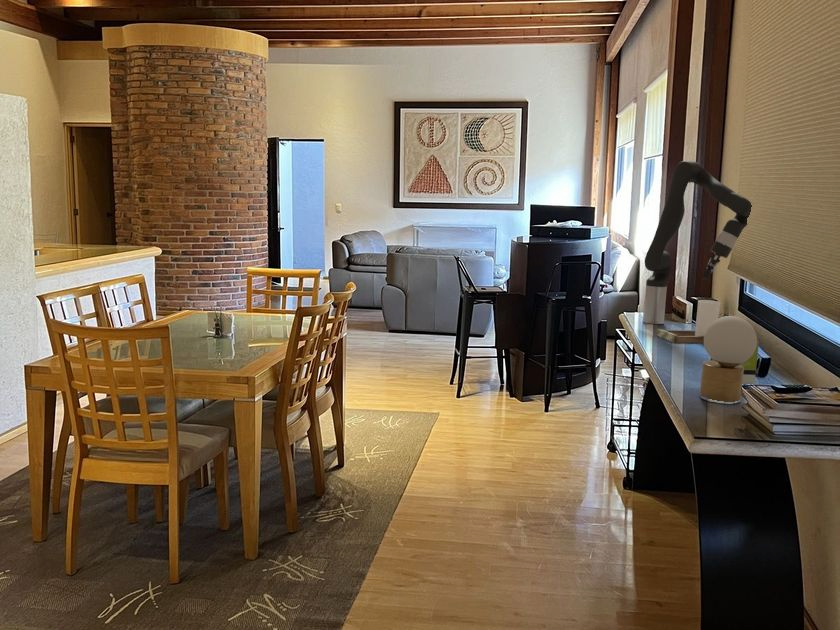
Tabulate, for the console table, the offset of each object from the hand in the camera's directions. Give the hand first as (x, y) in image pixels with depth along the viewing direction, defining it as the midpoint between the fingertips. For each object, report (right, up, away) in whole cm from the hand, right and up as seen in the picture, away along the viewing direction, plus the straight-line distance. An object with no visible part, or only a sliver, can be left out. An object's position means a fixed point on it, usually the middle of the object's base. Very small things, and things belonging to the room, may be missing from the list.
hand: (704, 278), depth 333 cm
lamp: (-32, -40, -104) cm, 116 cm away
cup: (-1, -26, -3) cm, 26 cm away
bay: (-7, -25, -5) cm, 27 cm away
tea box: (-19, -37, -76) cm, 87 cm away
